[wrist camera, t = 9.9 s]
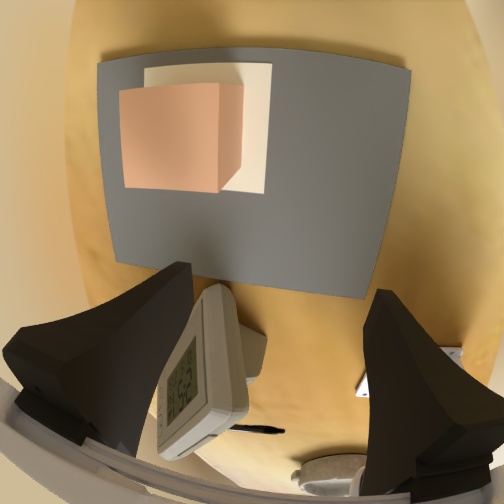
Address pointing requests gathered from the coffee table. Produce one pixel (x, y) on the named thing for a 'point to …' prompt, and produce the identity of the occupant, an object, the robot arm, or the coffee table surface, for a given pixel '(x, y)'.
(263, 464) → the coffee table surface
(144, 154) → the block
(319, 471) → the dish
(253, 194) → the mat
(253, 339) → the digital clock
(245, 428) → the pen
